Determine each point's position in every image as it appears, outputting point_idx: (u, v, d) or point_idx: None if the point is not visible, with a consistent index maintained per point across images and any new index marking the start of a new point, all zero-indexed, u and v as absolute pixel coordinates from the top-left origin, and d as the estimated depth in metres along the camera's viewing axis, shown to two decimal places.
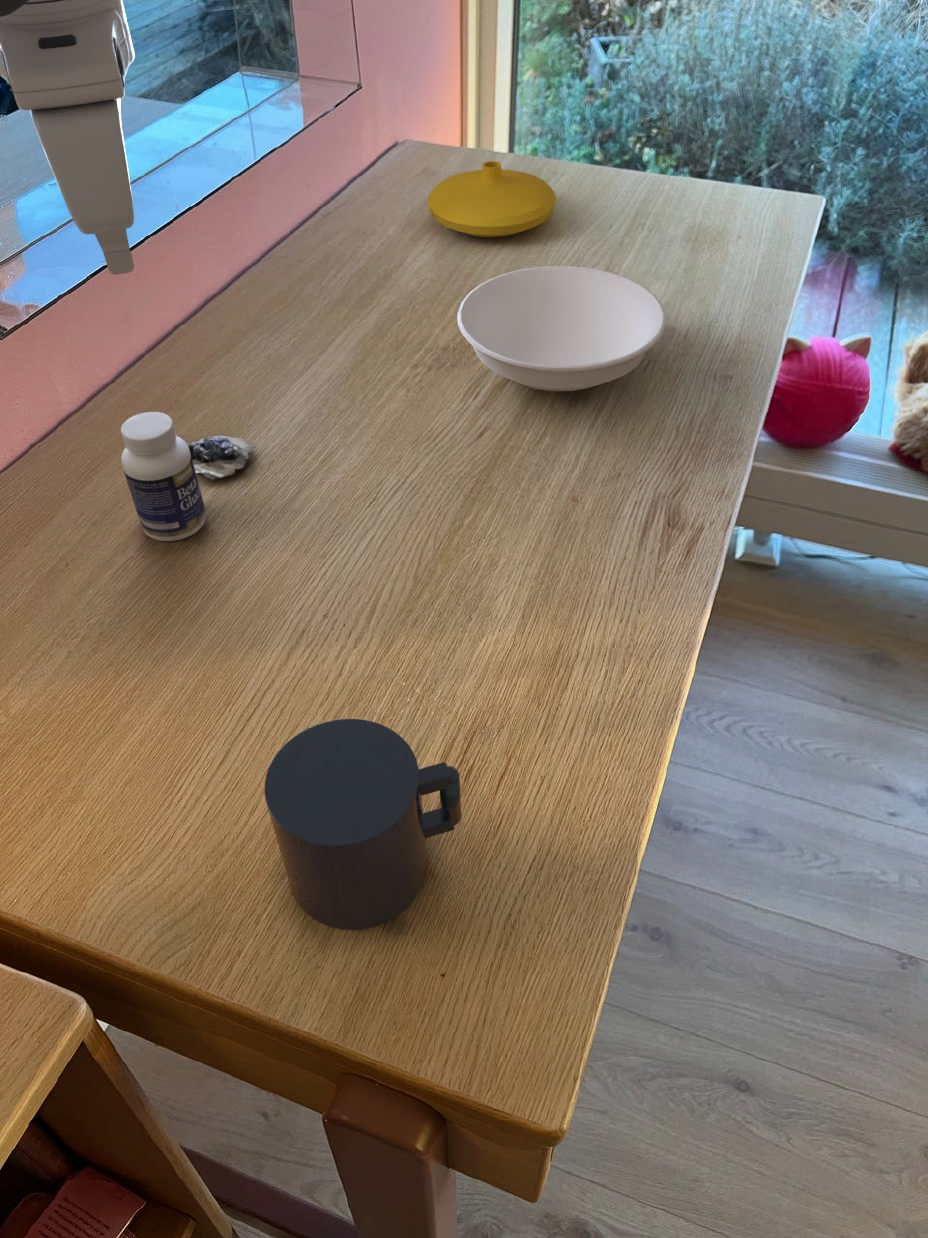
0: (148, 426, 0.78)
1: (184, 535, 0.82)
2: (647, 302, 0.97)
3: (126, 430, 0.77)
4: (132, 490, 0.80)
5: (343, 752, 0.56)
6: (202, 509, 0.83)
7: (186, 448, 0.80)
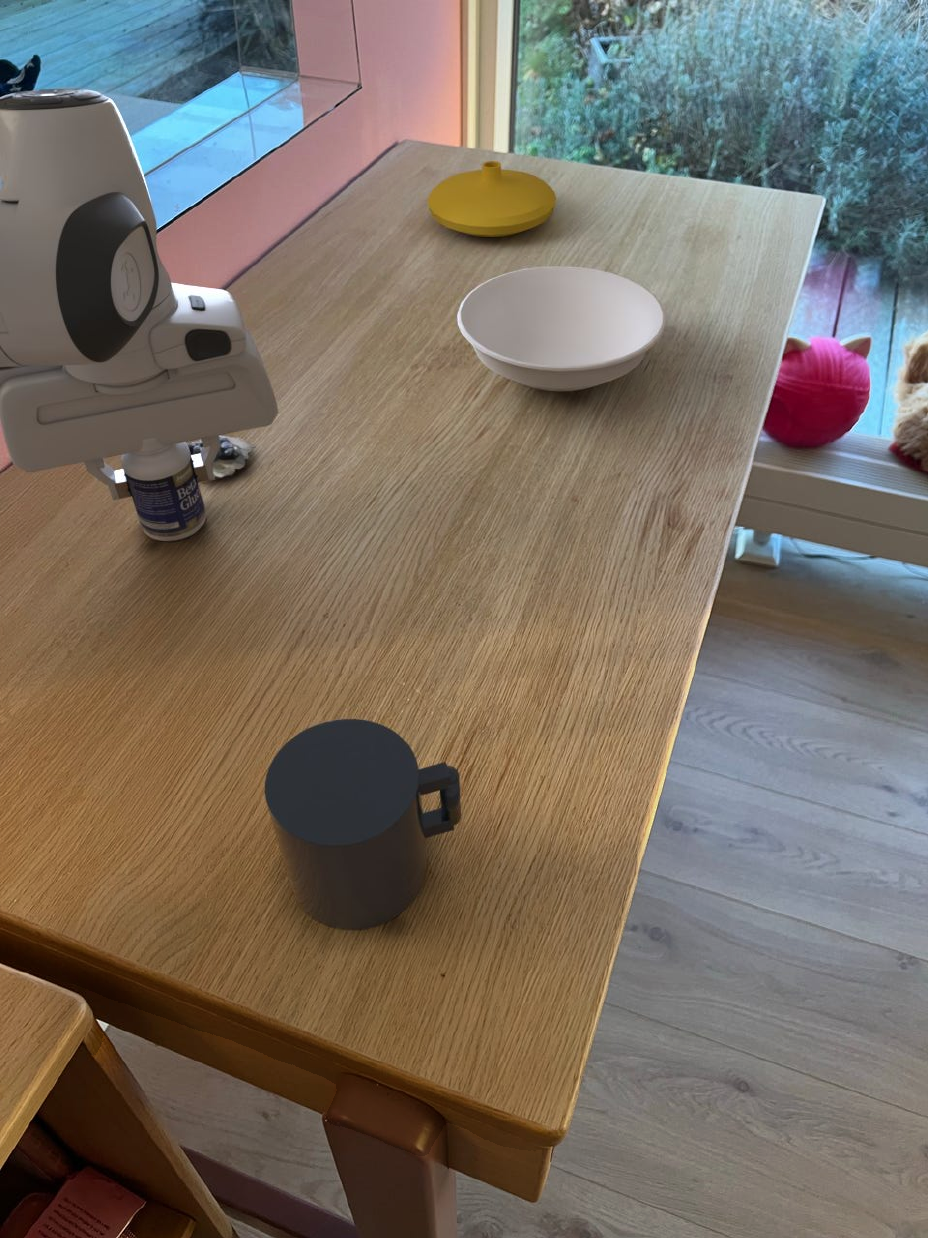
0: None
1: (184, 535, 0.82)
2: (647, 302, 0.97)
3: None
4: (132, 490, 0.80)
5: (343, 752, 0.56)
6: (202, 509, 0.83)
7: (186, 448, 0.80)
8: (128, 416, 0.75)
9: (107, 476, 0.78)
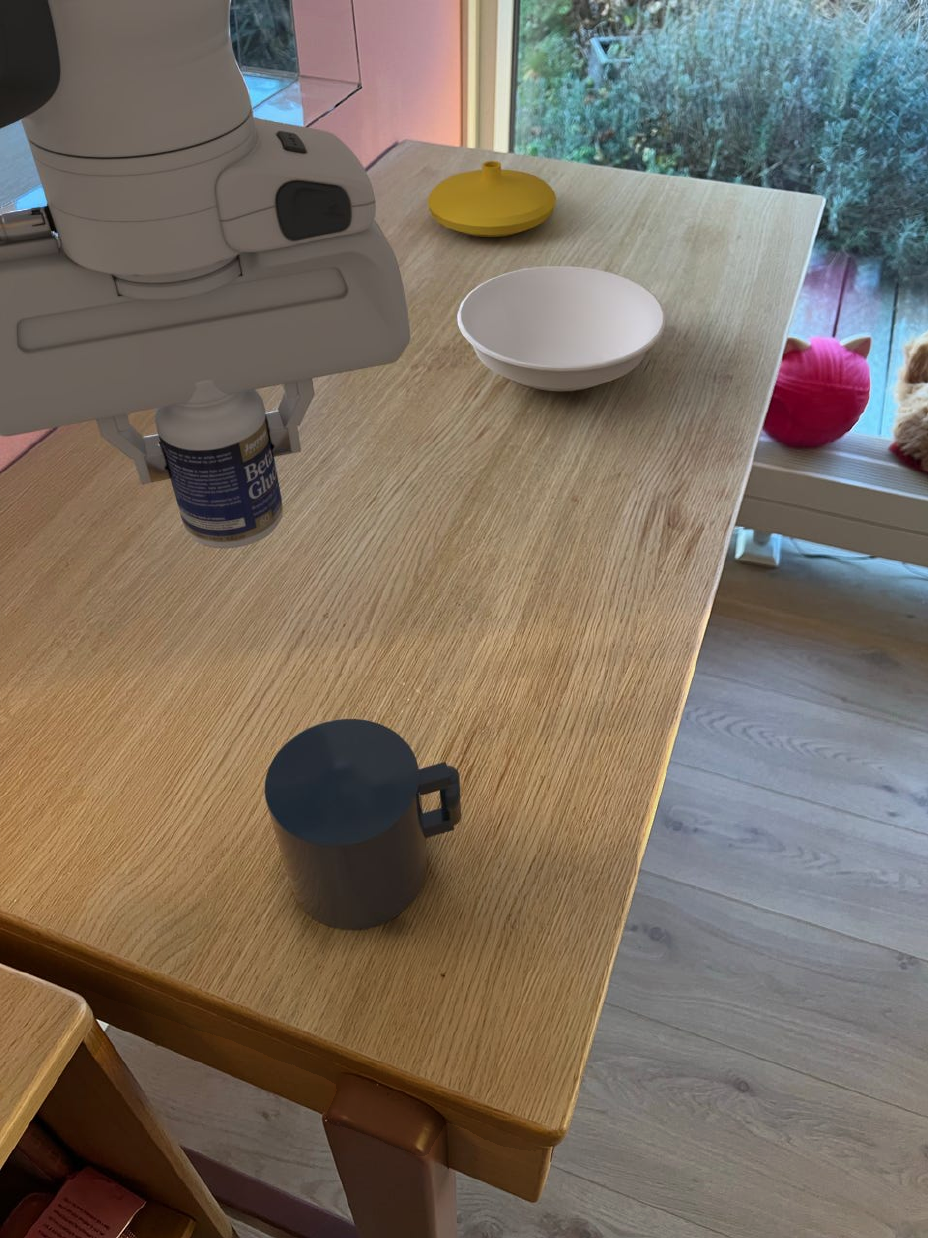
0: None
1: (252, 539, 0.52)
2: (647, 302, 0.97)
3: None
4: (172, 467, 0.50)
5: (343, 752, 0.56)
6: (279, 498, 0.53)
7: (259, 399, 0.50)
8: (170, 341, 0.44)
9: (133, 445, 0.48)
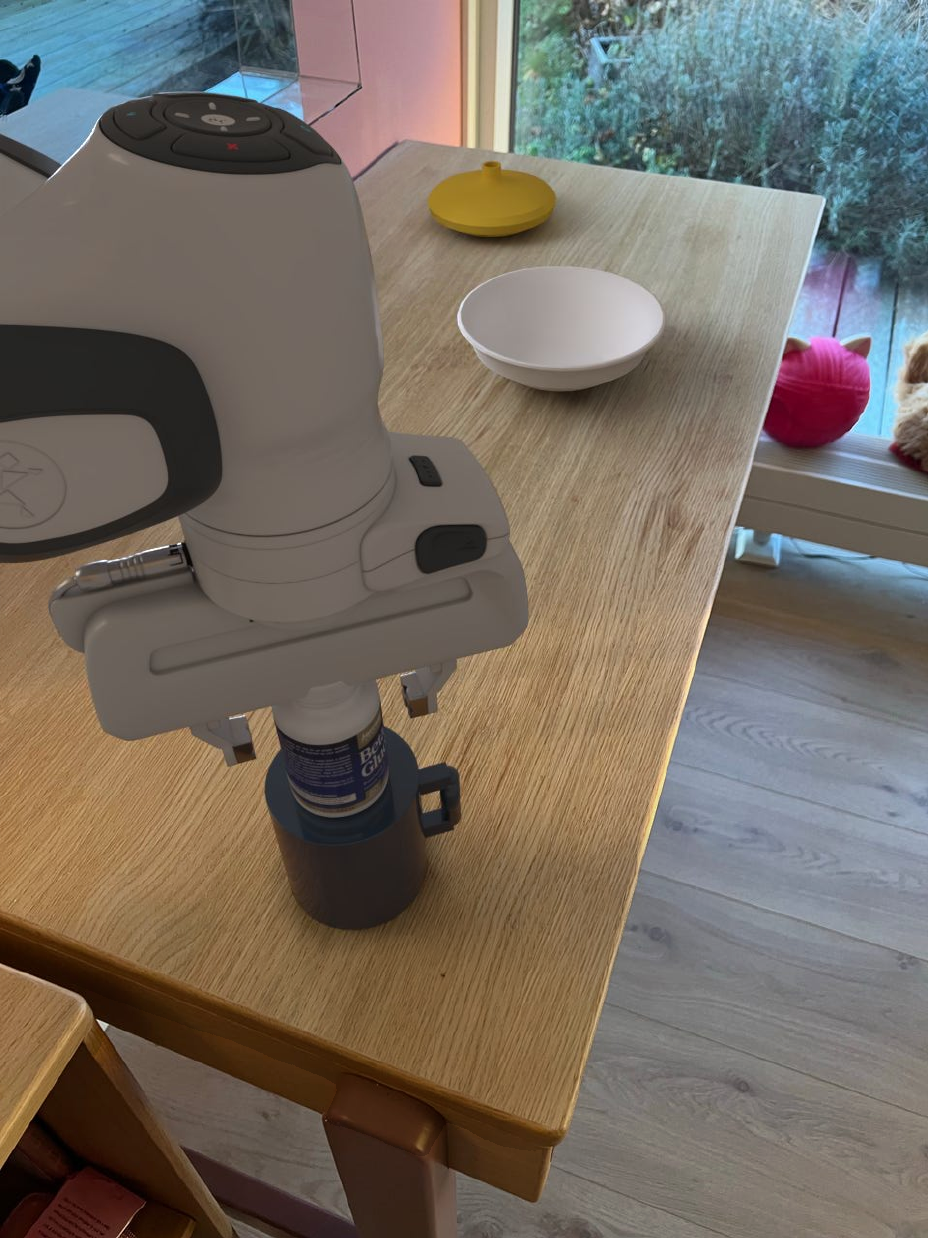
0: None
1: (361, 808, 0.52)
2: (647, 302, 0.97)
3: None
4: (287, 752, 0.50)
5: None
6: (387, 764, 0.53)
7: (374, 684, 0.50)
8: (297, 652, 0.44)
9: (222, 738, 0.48)
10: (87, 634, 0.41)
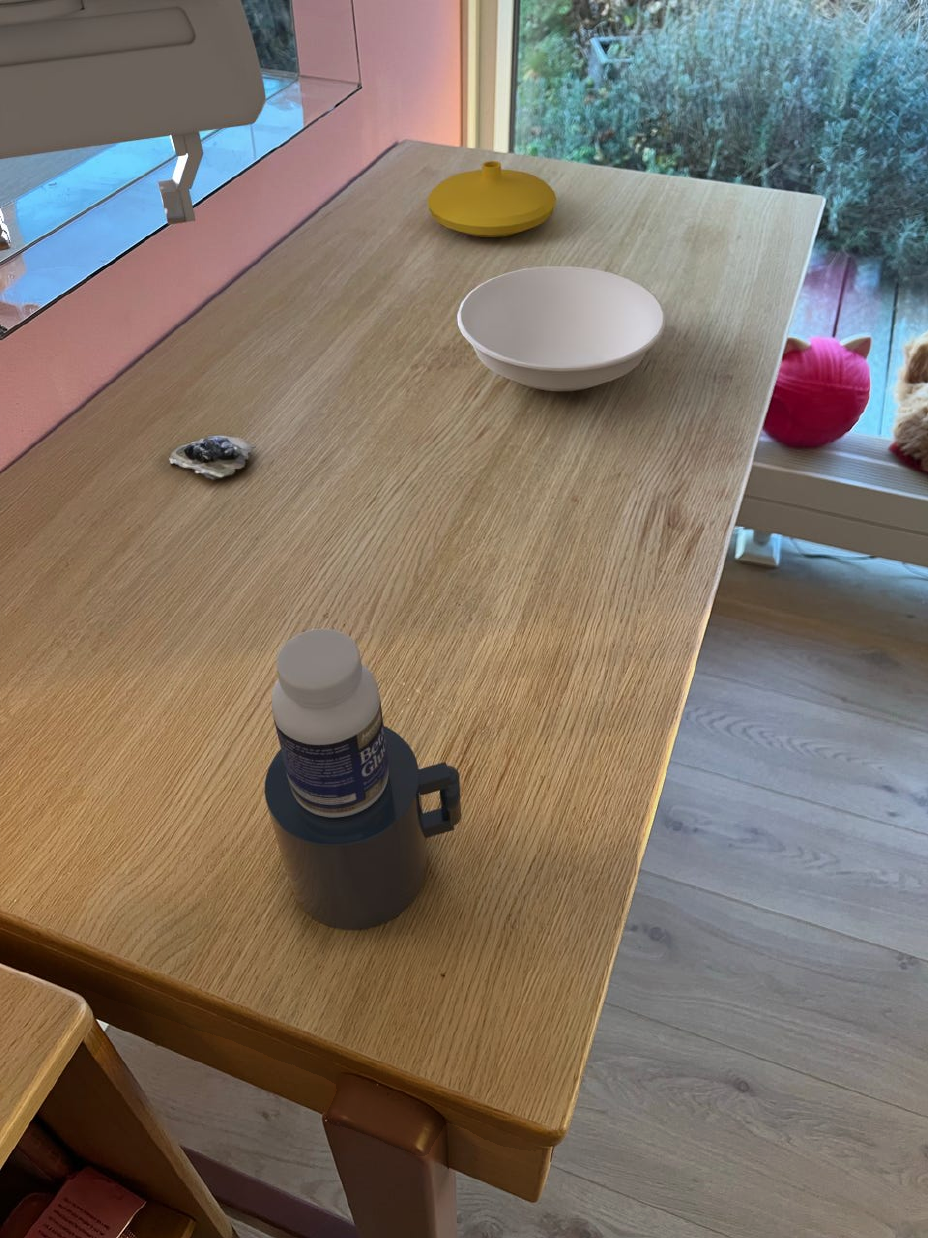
0: (321, 659, 0.47)
1: (361, 808, 0.52)
2: (647, 302, 0.97)
3: (285, 668, 0.47)
4: (287, 752, 0.50)
5: None
6: (387, 764, 0.53)
7: (374, 684, 0.50)
8: (18, 79, 0.45)
9: None
10: None
